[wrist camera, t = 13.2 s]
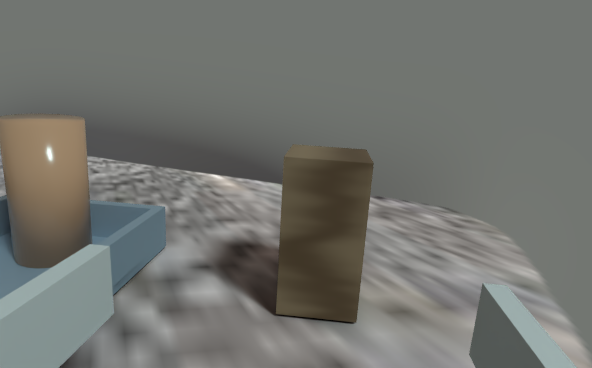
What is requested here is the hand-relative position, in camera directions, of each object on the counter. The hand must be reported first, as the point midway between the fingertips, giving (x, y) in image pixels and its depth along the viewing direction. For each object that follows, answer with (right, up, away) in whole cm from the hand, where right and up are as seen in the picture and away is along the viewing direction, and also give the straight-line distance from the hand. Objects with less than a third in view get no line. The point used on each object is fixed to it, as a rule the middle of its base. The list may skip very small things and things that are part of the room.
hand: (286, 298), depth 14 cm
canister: (-18, -1, +16) cm, 24 cm away
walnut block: (+2, -4, +13) cm, 14 cm away
